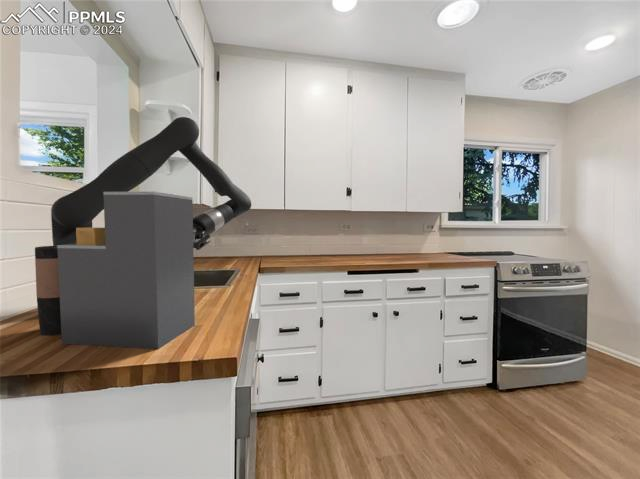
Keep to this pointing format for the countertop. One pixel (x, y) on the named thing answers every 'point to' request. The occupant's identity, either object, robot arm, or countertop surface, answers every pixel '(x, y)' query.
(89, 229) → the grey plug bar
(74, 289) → the grey stepped block
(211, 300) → the countertop surface
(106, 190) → the robot arm
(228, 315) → the countertop surface
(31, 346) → the countertop surface
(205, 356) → the countertop surface
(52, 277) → the travel mug
